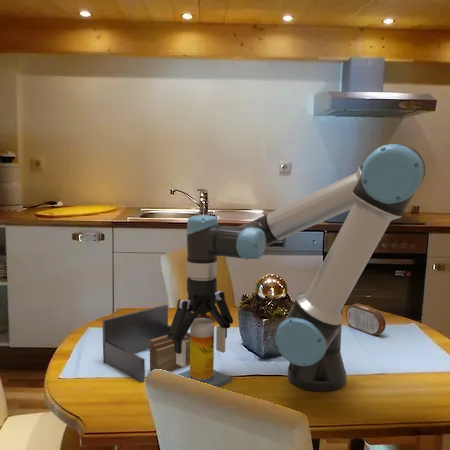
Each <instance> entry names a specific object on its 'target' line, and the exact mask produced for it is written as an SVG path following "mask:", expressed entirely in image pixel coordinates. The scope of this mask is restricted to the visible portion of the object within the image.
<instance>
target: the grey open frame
mask: <svg viewBox="0 0 450 450" xmlns="http://www.w3.org/2000/svg"><path fill="white" fill-rule="evenodd" d="M168 308H169V305H168V304H163V305H159V306H154V307H151V308H147V309H142V310H138V311H135V312H130V313H126V314H122V315H118V316H114V317H110V318H104V319H102V355H103V360H102V361H103V363H106V364H108V365H109V366H111V367H113V368H115V369H116V370H117V371H120V372H122V373H124V374H125V375H128V376H129V377H130V378H132V379H135V380H136V381H138V382H139V383H144V382H145V381H144V379H146V378H145V377H146V374H145V372H146V369H145V368H146V365H145V358H143V357H141V356H139V355H137V353H141V352H144V351H147V350H150V340H151V339H155V338H158V337H161V336H165V335H168V332H169V329H170V327H171V324H169V309H168ZM186 336H187V340H189V341H190V332H188V331H187V333H186Z"/></svg>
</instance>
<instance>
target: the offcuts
mask: <svg viewBox="0 0 450 450" xmlns="http://www.w3.org/2000/svg"><path fill="white" fill-rule="evenodd" d="M179 336H180V335H179ZM183 340H185V341H186V346H185V366H184V367H182V366H180V365H178V364H176V353H175V351H174V341H173V340H171V339H169V338H167V335H165V336H161V337H158V338H155V339H151V340H150V349H149V372H150V371H152V370H154V369H162V370H166V371H169V372H168V373H170V372H173V371H177V370H179V369H183V368H186V367H188V366H190V341H189V340H187V336H186V335H185V337H184V339H183Z"/></svg>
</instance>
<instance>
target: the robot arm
mask: <svg viewBox="0 0 450 450" xmlns="http://www.w3.org/2000/svg"><path fill="white" fill-rule="evenodd" d="M425 176H426V164H425V161H424V159H423V157H422V156H421V154H420V153H419V151H417V150H416V149H415V148H413V147H410V146H408V145H405V144H404V145H403V144H399V143H390V144H385V145H381V146H380V147H378V148H376V149H374V151H372V152H371V153H370V154H369V155H367V157H366V159H364V162H363V164H362V165H360V166H358V169H357V171H356V172H355V173H353V174H350V175H348V176H346V177H344V178H341V179H339V180H338V181H336V182H334V183H331V184H328V185H326V186H325V187H322V188H320V189H318V190H316V191H314V192H311V193H309V194H308V195H306V196H302V197H300V198H299V199H297V200H294V201H292V202H290V203H288V204H286V205H284V206H281V207H280V208H278V209H276V210H273V211H271V212H269V213H267V214H265V215H263V216H260V217H257V218H256V219H254V220H251V221H249V222H247V223H244V224H241V225H238V226H234V225H221V224H219V223H218V218H217V216H214V215H213V216H212V215H206V214H205V215H203V214H201V215H198V214H197V215H193V216H190V217H189V218H188V219H187V226H186V234H185V235H186V250H187V251H186V252H187V254H186V276H187V278H186V291H187V299H185V300H183V299H178V300H177V306H176V307H177V308H176V310H175V314H174V316H173V320H172V322H171V324H170V325H171V327H170V329H169V332H168V335H167V338H169V339H171V340H173V341H174V351H175V353H176V364H178V365H180V366H182V368H185V367H186V366H185V346H186V341H185V340H183V339H184V337H185V335H186V333H187V332H188V331H190V326H191V324H192V323H193V321H194V319H196V318H197V317H199V316H200V315H201V314H203V313H206V314H208V313H209V314H210V315H211V317H212V318H213V319H214V320H215V322H216V323H217V324H218V325H217V326H216V328H215V329H216V331H215V332H216V337H215V338H216V342H215V344H216V346H215V349H216V351H218V352H220V353H223V354H225V353H226V339H227V338H228V335H227V334H228V329H230V328H231V324H233V323H234V319H233V317H232V314H231V312H230V309H229V307H228V304H227V301H226V297H225V295H226V294H225V292H223V291H221V290H217V289H218V286H217V285H218V280H217V278H216V277H217V276H218V269H217V268H218V256H219V257H229V258H237V259H244V260H259V259H260V258H262V257H263V254H264V253H265V249H266V247H268V246H270V245H273V244H274V243H276V242H279V241H281V240H283V239H285V238H289V237H290V236H292V235H295V234H298V233H299V232H301V231H304V230H306V229H309V228H311V227H313V226H315V225H318V224H319V223H322V222H325V221H327V220H329V219H332V218H334V217H336V216H338V215H341V214H343V213H345V212H347V211H349V213H348V214H347V216H346V218H345V220H344V221H343V223H342V225H341V227H340V230H339V232H338V233H337V235H336V237H335V239H334V240H333V243H332V245H331V247H330V248H329V250H328V252H327V254H326V256H325V258H324V260H323V261H322V263H321V264H320V267H319V269H318V271H317V273H316V275H315V277H314V279H313V281H312V282H311V284H310V286H309V288H308V290H307V291H302V292H298V293H297V294H296V298H295V300H294V303H293V304H292V305H291V307H290V310H289V312H288V314H287V315H286V317H285V319H284V320H283V321H282V322H281V323H279V325H278V327H277V330H276V332H275V339H274V340H275V344H276V346H277V347H276V348H277V350H278V352H279V353H280V355H281V356H282V357H283V358H284V360H285V361H288V362H289V365H288V367H287V379H288V381H289V383H291V384H292V385H293V386H295V387H297V388H300V389H303V390H308V391H312V392H313V391H314V392H333V391H336V390H340V389H341V388H343V387H344V386H345V385H346V384H347V370H346V369H345V364H344V361H343V357H342V353H341V345H342V327H343V326H342V325H343V324H342V323H343V320H344V319H343V310H344V305H345V304H346V302H347V300H348V298H349V297H350V295H351V293H352V292H353V289H354V287H355V286H356V284H357V283H358V280H359V279H360V277H361V275H362V274H363V271H365V268H366V266H367V265H368V263H369V261H370V259H371V257H372V255H373V254H374V252H375V250H376V248H377V246H378V245H379V243H380V242H381V239H382V238H383V236H384V235H385V232H386V230H387V229H388V227H389V225H390V223H391V222H392V221H394V220H397V219H400V218H402V217H403V215H404V213H405V212H406V210H407V208H408V206H410V203H411V201H412V199H413V198H414V195H415V194H416V192H417V191H418V190H419V188H420V187H421V185H422V183H423V182H424V180H425ZM188 295H189V297H188ZM215 300H216V303H215V304H214V302H215ZM216 305H217V306H216ZM179 335H180V336H179ZM184 366H185V367H184Z"/></svg>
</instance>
